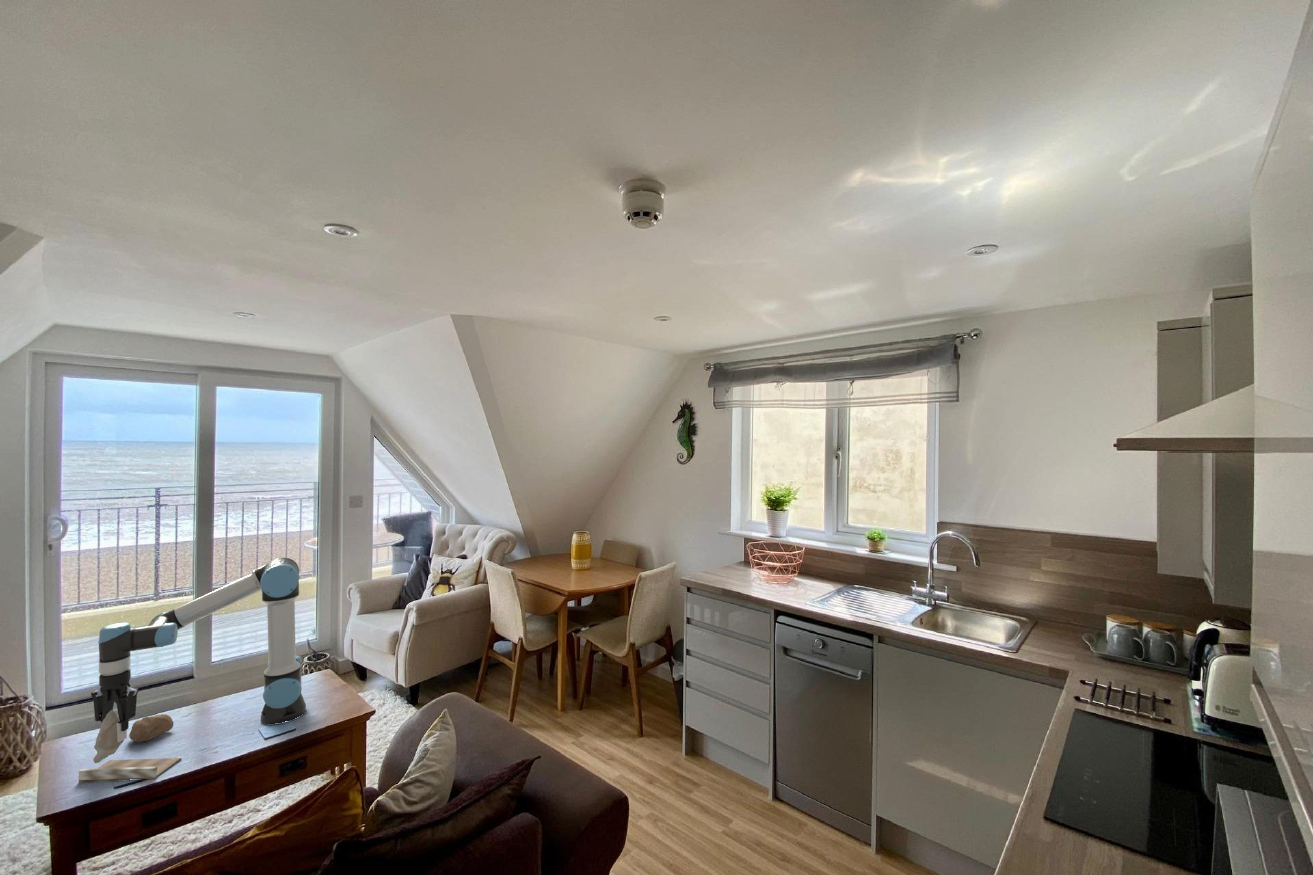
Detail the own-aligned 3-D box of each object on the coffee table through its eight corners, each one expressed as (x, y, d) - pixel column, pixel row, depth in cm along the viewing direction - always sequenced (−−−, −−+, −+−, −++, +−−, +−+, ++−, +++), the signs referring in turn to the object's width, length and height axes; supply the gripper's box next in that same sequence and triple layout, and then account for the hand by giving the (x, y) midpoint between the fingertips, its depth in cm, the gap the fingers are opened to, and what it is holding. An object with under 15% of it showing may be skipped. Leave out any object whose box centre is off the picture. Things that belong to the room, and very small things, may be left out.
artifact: (98, 764, 176) (100, 716, 178) (89, 764, 177) (91, 716, 178) (128, 750, 186) (130, 704, 187) (120, 751, 186) (121, 705, 187)
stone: (130, 753, 197) (146, 731, 197) (116, 734, 199) (132, 713, 199) (166, 739, 209) (182, 718, 209) (152, 722, 211) (168, 701, 211)
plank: (181, 762, 189) (181, 749, 189) (154, 782, 178) (154, 768, 178) (110, 764, 187) (110, 751, 187) (78, 784, 176) (78, 770, 176)
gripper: (150, 665, 188) (150, 733, 188) (99, 667, 187) (100, 735, 187) (131, 674, 180) (131, 745, 180) (78, 676, 179) (78, 747, 179)
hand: (115, 740), depth 184 cm, fingers closed on artifact, 3 cm apart
